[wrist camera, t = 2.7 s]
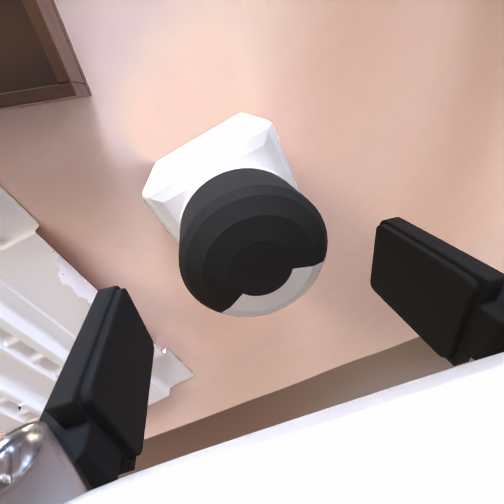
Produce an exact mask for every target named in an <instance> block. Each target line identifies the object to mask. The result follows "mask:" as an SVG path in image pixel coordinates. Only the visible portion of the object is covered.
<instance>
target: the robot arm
mask: <svg viewBox="0 0 504 504" xmlns="http://www.w3.org/2000/svg"><path fill="white" fill-rule="evenodd" d="M370 283H371V286H372V288H373V290H374V291H375V292H376V293H377V294H378V295H379V296H380V297H381V298H382V299H383V300H384V301H385V302H386V303H387V304H388V305H389V306H390V307H391V308H392V309H393V310H394V311H395V312H396V313H397V314H398V315H399V316H400V317H401V318H402V319H403V320H404V321H405V322H406V323H407V324H408V325H409V326H410V327H411V328H412V329H413V330H414V331H415V332H416V333H417V334H418V335H419V336H420V337H421V338H422V339H423V340H424V341H425V342H426V343H427V344H428V345H429V346H430V347H431V348H432V349H433V350H434V351H435V352H436V353H437V354H438V355H440V356H441V357H445V358H446V359H447V360H448V361H450V363H451V364H452V365H454V366H456V365H459V364H462V363H465V362H468V361H469V359H470V357H471V358H473V359H474V360H475V361H473V362H470V363H467V364H464V365H461V366H457V367H454V368H451V369H448V370H445V371H442V372H438V373H435V374H432V375H429V376H426V377H423V378H420V379H416V380H414V381H410V382H407V383H404V384H401V385H398V386H395V387H392V388H388V389H386V390H382V391H379V392H376V393H373V394H370V395H367V396H364V397H361V398H358V399H355V400H352V401H349V402H346V403H342V404H339V405H336V406H333V407H330V408H327V409H324V410H321V411H318V412H315V413H312V414H309V415H305V416H302V417H299V418H297V419H293V420H290V421H287V422H284V423H281V424H278V425H275V426H272V427H269V428H266V429H263V430H260V431H257V432H254V433H251V434H248V435H245V436H242V437H239V438H236V439H233V440H230V441H227V442H224V443H221V444H218V445H215V446H212V447H209V448H206V449H203V450H200V451H196V452H194V453H191V454H188V455H185V456H182V457H179V458H176V459H174V460H171V461H168V462H165V463H162V464H159V465H156V466H154V467H151V468H148V469H145V470H142V471H139V472H137V473H134V474H131V475H128V476H125V477H123V478H120V479H118V475H120V474H122V473H126V472H129V471H132V470H134V469H135V461H136V456H138V455H140V454H141V452H142V448H143V440H144V432H145V423H146V415H147V407H148V399H149V390H150V382H151V374H152V365H153V357H154V344H153V341H152V338H151V337H150V335H149V333H148V331H147V329H146V327H145V325H144V323H143V321H142V319H141V317H140V315H139V313H138V311H137V309H136V307H135V305H134V303H133V301H132V300H131V298H130V296H129V294H128V292H127V290H126V289H124V288H123V289H120V287H119V286H113V287H109V288H105V289H101V290H98V292H97V294H96V296H95V298H94V300H93V303H92V305H91V307H90V309H89V311H88V314H87V316H86V318H85V320H84V322H83V325H82V327H81V329H80V331H79V333H78V336H77V338H76V340H75V342H74V344H73V346H72V348H71V351H70V353H69V355H68V357H67V359H66V362H65V364H64V366H63V368H62V370H61V373H60V375H59V377H58V379H57V381H56V384H55V386H54V388H53V390H52V392H51V395H50V397H49V399H48V401H47V403H46V406H45V408H44V410H43V412H42V414H41V417H40V419H39V421H35V422H30V423H26V424H24V425H22V426H20V427H18V428H16V429H14V430H13V431H11V432H10V433H8V434H7V435H5V436H4V437H3V438H2V439H0V504H504V274H503V273H502V272H500V271H498V270H496V269H494V268H492V267H490V266H489V265H487V264H485V263H483V262H481V261H479V260H478V259H476V258H474V257H472V256H470V255H468V254H466V253H465V252H463V251H461V250H459V249H457V248H455V247H453V246H452V245H450V244H448V243H446V242H444V241H442V240H441V239H439V238H437V237H435V236H433V235H431V234H429V233H428V232H426V231H424V230H422V229H420V228H418V227H416V226H415V225H413V224H411V223H409V222H407V221H405V220H404V219H402V218H399V217H395V218H391V219H387V220H383V221H382V222H381V223H380V225H379V226H378V227H377V229H376V236H375V245H374V254H373V263H372V271H371V280H370Z"/></svg>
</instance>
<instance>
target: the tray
mask: <svg viewBox="0 0 504 504" xmlns="http://www.w3.org/2000/svg"><path fill="white" fill-rule="evenodd" d="M38 226H39V224H38V222H37V221H36V220H35V219H34V218H33V217H32V216H30V214H29V213H28V212H27V211H26V210H25V209H23V208H22V207H21V206H20V205H19V204H18V203H17V202H16V201H15V199H13V198H12V197H11V196H10V195H9V194H8V193H7V192H6V191H5V190H4V189H3V188H2V187H1V186H0V433H2V432H6V433H10V432H11V431H13V430H14V429H16V428H18V427H20V426H22V425H24V424H26V423H30V422H35V421H39V419H40V417H41V414H42V412H43V410H44V408H45V406H46V403H47V401H48V399H49V397H50V395H51V392H52V390H53V388H54V386H55V384H56V381H57V379H58V377H59V375H60V373H61V370H62V368H63V366H64V364H65V362H66V359H67V357H68V355H69V353H70V351H71V348H72V346H73V344H74V342H75V340H76V338H77V336H78V333H79V331H80V329H81V327H82V325H83V322H84V320H85V318H86V316H87V314H88V311H89V309H90V307H91V305H92V303H93V300H94V298H95V296H96V294H97V292H98V291H97V290H96V289H95V288H94V287H93V286H92V285H91V284H90V283H89V282H88V281H87V280H86V279H85V278H84V277H82V276H81V275H80V274H79V273H78V272H77V271H76V270H75V269H74V268H73V267H72V266H71V265H70V264H69V263H68V262H67V261H66V260H64V259H63V258H62V257H61V256H60V255H59V254H58V253H57V252H56V251H55V250H54V249H53V248H52V247H51V246H50V245H49V244H47V243H46V242H45V241H44V240H43V239H42V238H41V237H40V236H39V235H38V234H37V233H36V232H35V230H36V229H37V228H38ZM153 344H154V343H153ZM194 376H195V375H194V374H193V373H192V372H191V371H190V370H189V369H188V368H187V367H186V366H185V365H184V364H183V363H182V362H181V361H180V360H179V359H178V358H177V357H176V356H175V355H174V354H173V353H172V352H171V351H170V350H169V349H165V350H163V351H161V350H160V349H159V348H158V347H157V346H156V345H154V357H153V365H152V374H151V382H150V390H149V399H148V406H149V405H151V404H153V403H155V402H157V401H159V400H162V399H164V398H166V397H168V396H169V395H170V389H171V387H173V386H175V385H177V384H179V383H181V382H183V381H185V380H187V379H189V378H192V377H194ZM19 406H20V407H21V409H20V410H19Z"/></svg>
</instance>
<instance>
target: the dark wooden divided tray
mask: <svg viewBox="0 0 504 504" xmlns="http://www.w3.org/2000/svg"><path fill="white" fill-rule="evenodd" d="M87 96H92V94H91V92H90V89H89V87H88V84H87V82H86V79H85V77H84V74H83V72H82V69H81V67H80V65H79V62H78V60H77V57H76V55H75V52H74V50H73V47H72V45H71V42H70V40H69V37H68V35H67V32H66V30H65V27H64V25H63V23H62V20H61V18H60V15H59V13H58V10H57V8H56V5H55V3H54V0H0V111H2V110H8V109H14V108H20V107H26V106H32V105H38V104H44V103H51V102H57V101H63V100H69V99H75V98H81V97H87Z"/></svg>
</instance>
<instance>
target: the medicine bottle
mask: <svg viewBox="0 0 504 504" xmlns="http://www.w3.org/2000/svg"><path fill="white" fill-rule="evenodd" d="M142 197H143V199H144V201H145V202H146V204H147V205H148V206H149V207H150V209H151V210H152V211H153V213H154V214H155V215H156V216H157V218H158V219H159V220H160V221H161V223H162V224H163V225H164V226H165V228H166V229H167V230H168V231H169V233H170V234H171V235H172V237H173V238H174V239H175V240H176V242H177V243H178V244H179V268H180V272H181V276H182V279H183V281H184V284H185V285H186V287H187V289H188V290H189V292H190V293H191V294H192V295H193V296H194V297H195V298H196V299H197V300H198V301H199V302H200V303H202V304H203V305H205V306H206V307H208V308H210V309H212V310H214V311H217V312H220V313H223V314H227V315H231V316H237V317H254V316H261V315H265V314H269V313H272V312H275V311H277V310H280V309H282V308H284V307H286V306H288V305H289V304H291V303H292V302H294V301H295V300H297V299H298V298H299V297H300V296H302V295H303V294H304V293H305V292H306V291H307V290H308V289H309V287H310V286H311V285H312V284H313V282H314V281H315V279H316V278H317V276H318V274H319V272H320V270H321V268H322V266H323V263H324V260H325V257H326V252H327V242H328V239H327V231H326V227H325V223H324V221H323V219H322V217H321V215H320V213H319V212H318V210H317V209H316V207H315V206H314V205H313V204H312V203H311V202H310V201H309V200H308V199H307V198H305V197H304V196H303V195H302V194H301V193H300V192H299V189H298V186H297V184H296V181H295V179H294V176H293V174H292V171H291V169H290V166H289V164H288V161H287V159H286V156H285V154H284V151H283V149H282V146H281V144H280V141H279V139H278V136H277V133H276V131H275V128H274V126H273V124H272V123H271V121H268V120H265V119H262V118H258V117H255V116H252V115H248V114H245V113H239V114H237V115H235V116H233V117H232V118H230V119H228V120H227V121H225V122H223V123H221V124H220V125H218V126H216V127H215V128H213V129H211V130H210V131H208V132H206V133H204V134H203V135H201V136H199V137H198V138H196V139H194V140H192V141H191V142H189V143H187V144H186V145H184V146H182V147H181V148H179V149H177V150H175V151H174V152H172V153H170V154H169V155H167V156H165V157H163V158H162V159H160V160H158V161H157V162H156V163H155V165H154V167H153V169H152V172H151V174H150V176H149V179H148V181H147V183H146V185H145V188H144V190H143V192H142Z"/></svg>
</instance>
